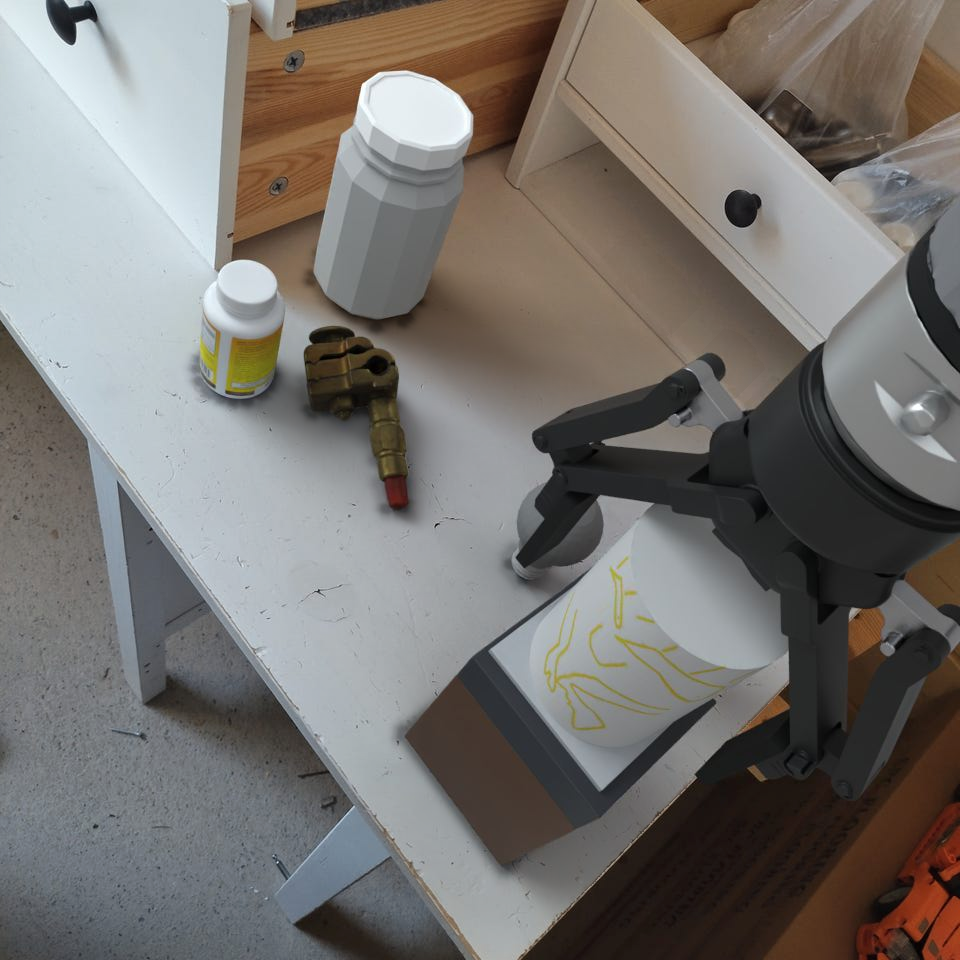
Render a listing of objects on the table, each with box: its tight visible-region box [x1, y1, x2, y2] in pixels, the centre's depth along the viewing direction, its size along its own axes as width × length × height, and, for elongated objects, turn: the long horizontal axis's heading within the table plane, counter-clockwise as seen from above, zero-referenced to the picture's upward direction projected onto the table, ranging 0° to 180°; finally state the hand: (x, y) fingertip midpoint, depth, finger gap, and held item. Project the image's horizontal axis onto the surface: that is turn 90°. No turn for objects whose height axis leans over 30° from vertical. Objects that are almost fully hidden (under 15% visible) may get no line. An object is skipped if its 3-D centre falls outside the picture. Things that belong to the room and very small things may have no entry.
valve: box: [303, 325, 410, 510], centre depth 68 cm, size 7×15×5 cm, turn 21°
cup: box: [530, 503, 789, 748], centre depth 42 cm, size 8×8×12 cm
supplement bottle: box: [198, 259, 286, 400], centre depth 64 cm, size 6×6×10 cm
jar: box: [312, 70, 474, 321], centre depth 70 cm, size 10×10×18 cm
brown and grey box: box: [404, 566, 717, 866], centre depth 53 cm, size 10×10×15 cm
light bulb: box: [511, 481, 605, 580], centre depth 63 cm, size 6×6×10 cm
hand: (623, 653), depth 45 cm, fingers open, 13 cm apart
